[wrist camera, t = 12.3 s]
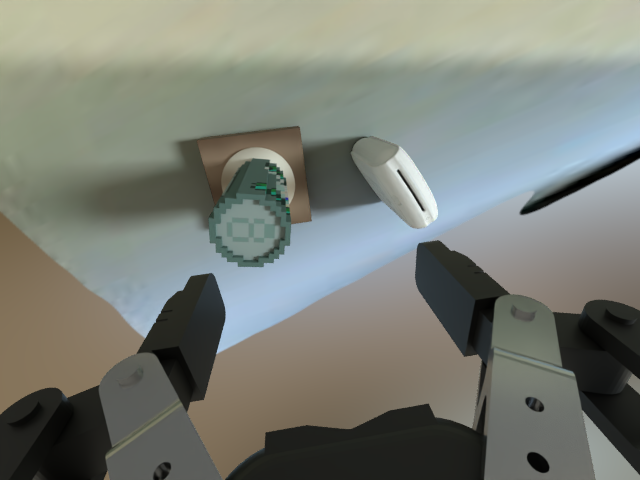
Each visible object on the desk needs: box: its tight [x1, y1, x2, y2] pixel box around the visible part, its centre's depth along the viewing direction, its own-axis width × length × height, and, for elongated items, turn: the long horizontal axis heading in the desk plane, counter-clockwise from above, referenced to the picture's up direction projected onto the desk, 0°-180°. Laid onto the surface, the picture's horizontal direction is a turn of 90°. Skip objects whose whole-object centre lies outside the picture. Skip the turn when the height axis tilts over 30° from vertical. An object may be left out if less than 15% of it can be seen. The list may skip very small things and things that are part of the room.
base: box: [197, 126, 312, 224], centre depth 37 cm, size 12×12×4 cm
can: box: [208, 158, 291, 267], centre depth 28 cm, size 6×6×15 cm
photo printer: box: [350, 136, 438, 229], centre depth 34 cm, size 10×4×12 cm, turn 38°
